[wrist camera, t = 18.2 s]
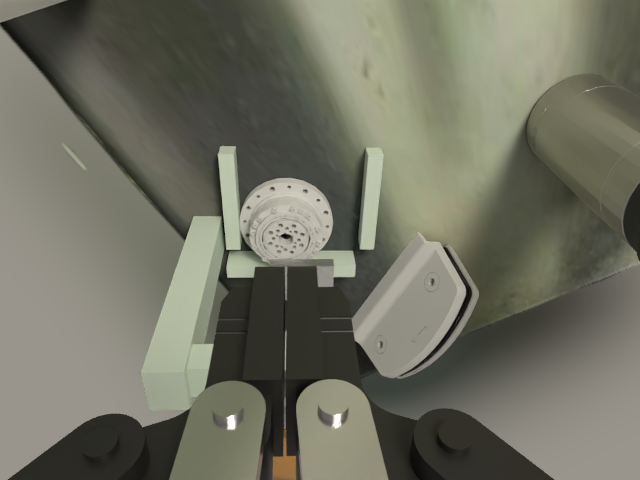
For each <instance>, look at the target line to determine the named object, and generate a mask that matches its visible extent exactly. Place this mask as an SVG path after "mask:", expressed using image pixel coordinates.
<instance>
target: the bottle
mask: <svg viewBox="0 0 640 480" xmlns="http://www.w3.org/2000/svg"><path fill="white" fill-rule="evenodd" d="M63 1H66V0H0V23H1V22H4V21H7V20H10V19H13V18H16V17H19V16H22V15H25V14H28V13H30V12H33V11H36V10H39V9H42V8H45V7H48V6H51V5H54V4H57V3H60V2H63Z"/></svg>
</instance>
